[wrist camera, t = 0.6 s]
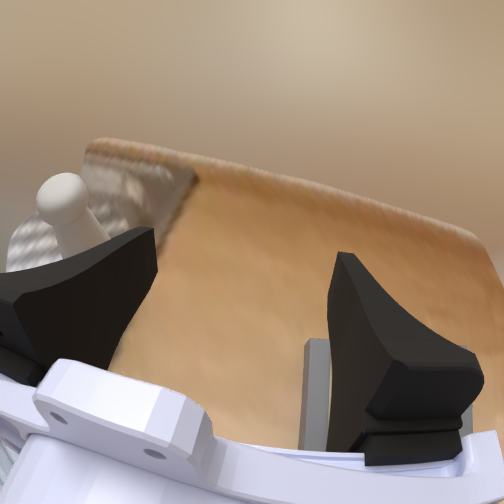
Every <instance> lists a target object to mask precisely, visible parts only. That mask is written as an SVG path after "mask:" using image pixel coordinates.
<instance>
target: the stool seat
mask: <svg viewBox="0 0 504 504" xmlns="http://www.w3.org/2000/svg"><path fill="white" fill-rule="evenodd" d="M458 346H460V347H462V348H464V349H466V350H467V346H466V345H458ZM329 385H330V340H325V339H314V338H310V339H309V340H308V342H307V343H306V344H305V351H304V372H303V390H302V405H301V420H300V433H299V445H298V450H304V451H318V452H326V444H327V429H328V410H329ZM461 418H462V422H463V426H462V428H461V429H459V434H460V438H462V437H463V436H466V435H468V434H472V433H473V418H472V404H471V405H470V406H469V407H468V408H467V409H466V411H465V412H464V413H463V414H462V415H461Z"/></svg>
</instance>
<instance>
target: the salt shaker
mask: <svg viewBox="0 0 504 504" xmlns="http://www.w3.org/2000/svg"><path fill="white" fill-rule="evenodd" d="M87 205H88V191H87V188H86V186H85V184H84V183H83V181H82V180H81V178H80V177H79V176H78V175H75V174H71V173H62V174H58V175H55V176H53V177H51V178H50V179H49V180H47V181H46V182H45V183H44V184H43V185H42V187H41V188H40V190H39V192H38V194H37V198H36V206H37V210H38V212H39V214H40V216H41V217H42V219H43V220H44V222H46V223H48V224H50V225H52V226H53V229H54V232H55V236H56V239H57V242H58V245H59V248H60V251H61V254H62V257H63V259H66V258H69V257H71V256H74V255H77V254H79V253H81V252H84V251H86V250H88V249H90V248H93V247H95V246H97V245H99V244H101V243H104V242H106V241H108V240H110V239H111V238H110V237H109V236H108V234H107V233H106V232H105V230H104V229H103V228H102V226H101V225H100V224H99V222H98V221H97V219H96V218H95V217H94V215H93V214H92V212H91V211H90V210H89V208H88V207H87Z"/></svg>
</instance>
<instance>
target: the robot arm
mask: <svg viewBox="0 0 504 504" xmlns="http://www.w3.org/2000/svg"><path fill="white" fill-rule="evenodd" d="M157 272H158V267H157V258H156V249H155V239H154V228H148V227H137V228H134V229H132V230H129V231H127V232H125V233H123V234H120V235H118V236H116V237H114V238H112V239H110V240H108V241H106V242H104V243H101V244H99V245H97V246H95V247H93V248H90V249H88V250H86V251H84V252H81V253H79V254H77V255H74V256H71V257H69V258H66V259H63V260H60V261H57V262H54V263H50V264H46V265H43V266H39V267H35V268H31V269H26V270H21V271H15V272H8V273H0V441H1V442H2V443H4V444H5V445H6V446H8V447H9V448H11V449H12V450H13V451H15V452H16V453H18V454H19V456H18V457H17V459H16V461H15V463H14V465H13V467H12V469H11V471H10V473H9V475H8V477H7V479H6V481H5V483H4V485H3V487H2V489H1V491H0V504H497V503H499V502H501V501H502V500H504V461H503V456H502V452H501V448H500V444H499V441H498V437H497V433H496V431H495V430H490V431H484V432H478V433H472V434H468V435H466V436H463V437H462V438H460V434H459V429H461V428H462V426H463V422H462V418H461V415H462V414H463V413H464V412H465V411H466V409H467V408H468V407H469V406H470V405H471V404H472V403H473V401H474V400H475V399H476V398H477V396H478V395H479V393H480V392H481V390H482V388H483V385H484V375H483V372H482V370H481V367H480V365H479V362H478V360H477V357H476V355H475V354H474V353H472V352H470V351H468V350H466V349H464V348H462V347H460V346H458V345H456V344H454V343H452V342H450V341H448V340H447V339H445V338H443V337H442V336H440V335H438V334H437V333H435V332H434V331H432V330H431V329H429V328H428V327H426V326H425V325H424V324H422V323H421V322H419V321H418V320H417V319H415V318H414V317H413V316H412V315H410V314H409V313H408V312H407V311H406V310H405V309H404V308H402V307H401V306H400V305H399V304H398V303H397V302H396V301H395V300H394V299H393V298H392V297H391V296H390V295H389V294H388V293H387V292H386V291H385V290H384V289H383V288H382V287H381V286H380V284H379V283H378V282H377V281H376V280H375V279H374V278H373V276H372V275H371V274H370V273H369V271H368V270H367V269H366V268H365V267H364V265H363V264H362V263H361V262H360V260H359V259H358V258H357V257H356V256H355V255H354V254H353V253H346V252H338V254H337V258H336V262H335V267H334V271H333V275H332V280H331V284H330V288H329V292H328V303H327V320H328V330H329V340H330V350H331V361H332V388H331V405H330V418H329V428H328V437H327V445H326V452H318V451H304V450H293V449H283V448H274V447H266V446H259V445H252V444H245V443H239V442H234V441H231V440H228V439H225V438H222V437H219V436H216V435H213V431H212V422H211V420H210V418H209V417H208V415H207V413H206V411H205V410H204V409H203V407H202V406H200V405H199V404H198V403H196V402H195V401H193V400H192V399H190V398H189V397H188V396H186V395H184V394H181V393H179V392H176V391H173V390H171V389H168V388H166V387H163V386H159V385H155V384H151V383H147V382H143V381H140V380H136V379H133V378H129V377H126V376H122V375H119V374H116V373H112V372H109V371H107V370H108V367H109V364H110V362H111V359H112V357H113V354H114V352H115V350H116V347H117V345H118V343H119V340H120V338H121V336H122V334H123V332H124V331H125V329H126V327H127V326H128V324H129V322H130V321H131V319H132V317H133V316H134V314H135V313H136V311H137V309H138V308H139V306H140V305H141V303H142V301H143V300H144V298H145V297H146V295H147V293H148V292H149V290H150V288H151V286H152V283H153V281H154V279H155V277H156V274H157Z"/></svg>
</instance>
